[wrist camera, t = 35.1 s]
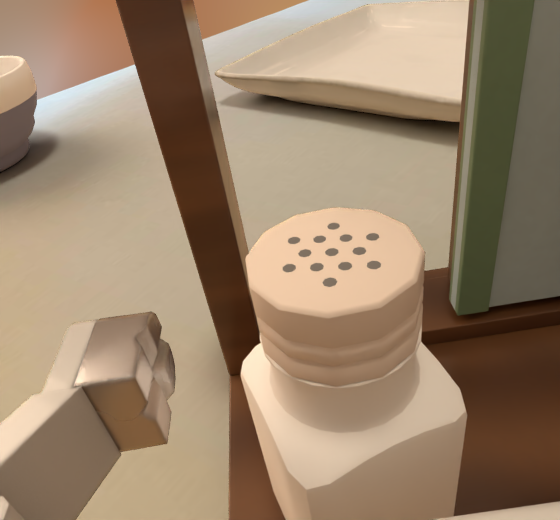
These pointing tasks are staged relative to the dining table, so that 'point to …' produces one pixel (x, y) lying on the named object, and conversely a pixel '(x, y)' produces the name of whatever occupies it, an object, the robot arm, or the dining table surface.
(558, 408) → the window frame
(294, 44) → the square plate
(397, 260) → the salt shaker
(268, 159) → the dining table surface
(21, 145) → the bowl
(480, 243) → the window sash
